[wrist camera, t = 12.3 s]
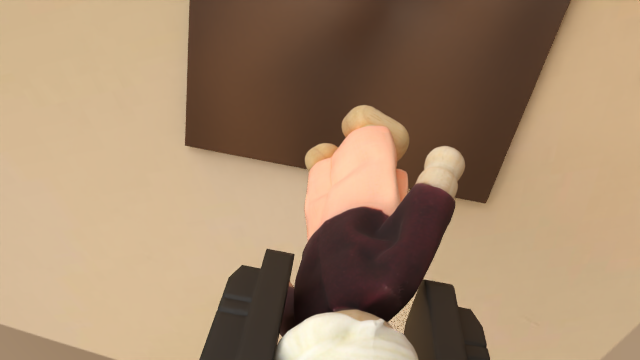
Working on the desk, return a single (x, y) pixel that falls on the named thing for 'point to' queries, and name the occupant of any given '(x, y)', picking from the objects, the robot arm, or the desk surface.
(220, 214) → the desk surface
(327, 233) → the grandmother figurine
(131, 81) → the desk surface
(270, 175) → the desk surface
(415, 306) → the robot arm
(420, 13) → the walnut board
